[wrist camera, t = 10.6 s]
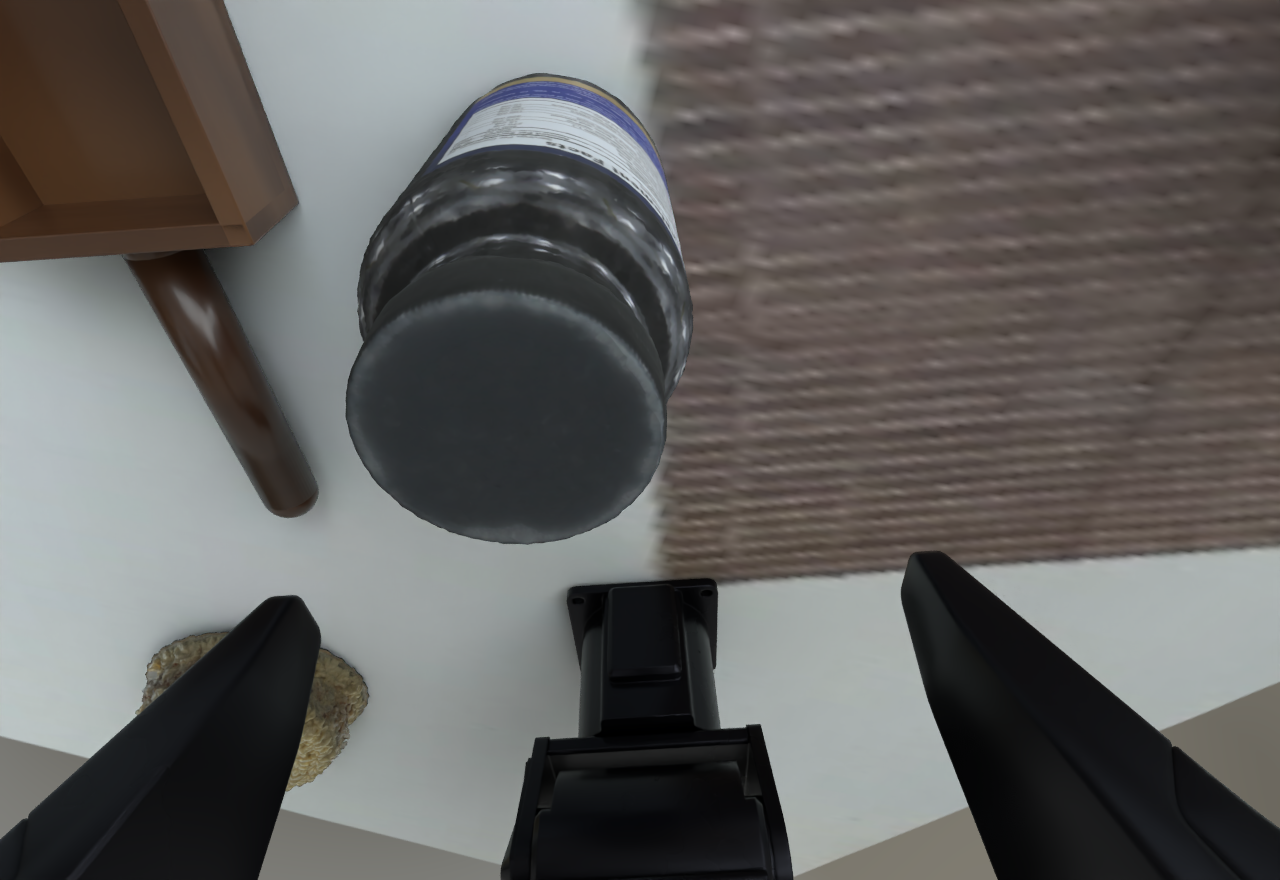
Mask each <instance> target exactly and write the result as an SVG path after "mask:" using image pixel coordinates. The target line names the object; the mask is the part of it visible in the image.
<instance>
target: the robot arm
mask: <svg viewBox="0 0 1280 880" xmlns="http://www.w3.org/2000/svg"><path fill="white" fill-rule="evenodd" d="M901 601H902V606H903V609H904V613H905V617H906V621H907V624H908V628H909V632H910V636H911V639H912V643H913V647H914V651H915V654H916V658H917V662H918V666H919V669H920V673H921V677H922V681H923V684H924V688H925V691H926V695H927V698H928V702H929V704H930V707H931V710H932V713H933V716H934V718H935V721H936V723H937V726H938V728H939V731H940V734H941V736H942V739H943V741H944V744H945V746H946V749H947V751H948V754H949V757H950V759H951V762H952V764H953V767H954V769H955V772H956V774H957V777H958V780H959V782H960V785H961V787H962V790H963V792H964V795H965V797H966V800H967V803H968V805H969V808H970V810H971V813H972V815H973V818H974V820H975V823H976V825H977V828H978V831H979V833H980V835H981V838H982V841H983V843H984V846H985V849H986V851H987V854H988V856H989V859H990V861H991V864H992V866H993V869H994V872H995V874H996V877H997V879H998V880H1280V828H1279V827H1277V826H1276V825H1274V824H1273V823H1272V822H1271V821H1269V820H1268V819H1267V818H1265V817H1264V816H1263V815H1261V814H1260V813H1259V812H1257V811H1256V810H1255V809H1253V808H1252V807H1251V806H1250V805H1248V804H1247V803H1246V802H1245V801H1243V800H1242V799H1241V798H1240V797H1238V796H1237V795H1236V794H1235V793H1233V792H1232V791H1231V790H1230V789H1229V788H1227V787H1226V786H1225V785H1224V784H1222V783H1221V782H1219V781H1218V780H1217V779H1216V778H1214V777H1213V776H1212V775H1211V774H1210V773H1209V772H1207V771H1206V770H1205V769H1204V768H1203V767H1201V766H1200V765H1199V764H1198V763H1197V762H1195V761H1194V760H1193V759H1192V758H1190V757H1189V756H1188V755H1187V754H1186V753H1184V752H1183V751H1182V750H1181V749H1179V748H1178V747H1176V746H1174V747H1172V744H1171V742H1170V740H1169V739H1167V738H1166V737H1164V735H1163V734H1161V733H1160V732H1159V731H1158V730H1157V729H1155V728H1154V727H1153V726H1152V725H1151V724H1149V723H1148V722H1147V721H1146V720H1145V719H1143V718H1142V717H1141V716H1140V715H1138V714H1137V713H1136V712H1135V711H1134V710H1132V709H1131V708H1130V707H1129V706H1128V705H1126V704H1125V703H1124V702H1123V701H1122V700H1120V699H1119V698H1118V697H1117V696H1116V695H1114V694H1113V693H1112V692H1111V691H1110V690H1108V689H1107V688H1106V687H1105V686H1104V685H1102V684H1101V683H1100V682H1099V681H1098V680H1096V679H1095V678H1094V677H1093V676H1092V675H1090V674H1089V673H1088V672H1087V671H1086V670H1084V669H1083V668H1082V667H1081V666H1080V665H1078V664H1077V663H1076V662H1075V661H1074V660H1072V659H1071V658H1070V657H1069V656H1068V655H1066V654H1065V653H1064V652H1063V651H1062V650H1060V649H1059V648H1058V647H1057V646H1056V645H1054V644H1053V643H1052V642H1051V641H1050V640H1048V639H1047V638H1046V637H1045V636H1044V635H1042V634H1041V633H1040V632H1039V631H1038V630H1036V629H1035V628H1034V627H1033V626H1032V625H1030V624H1029V623H1028V622H1027V621H1026V620H1024V619H1023V618H1022V617H1021V616H1020V615H1018V614H1017V613H1016V612H1015V611H1014V610H1012V609H1011V608H1010V607H1009V606H1008V605H1006V604H1005V603H1004V602H1003V601H1002V600H1000V599H999V598H998V597H997V596H996V595H994V594H993V593H992V592H991V591H990V590H988V589H987V588H986V587H985V586H983V585H982V584H981V583H980V582H979V581H977V580H976V579H975V578H974V577H973V576H971V575H970V574H969V573H968V572H967V571H965V570H964V569H963V568H962V567H961V566H959V565H958V564H957V563H956V562H955V561H953V560H952V559H951V558H950V557H949V556H947V555H946V554H945V553H943V552H941V551H923V552H915V553H913V554H912V555H911V556H910V558H909V560H908V564H907V568H906V572H905V575H904V579H903V583H902V587H901ZM567 605H568V610H569V615H570V620H571V625H572V630H573V635H574V640H575V645H576V650H577V655H578V660H579V665H580V670H581V687H580V709H579V732H578V738H563V739H550V737H538V738H535V742H534V747H533V753H532V758H528V761H527V762H526V766H525V776H524V782H523V787H522V792H521V797H520V802H519V807H518V813H517V818H516V823H515V826H514V829H513V832H512V835H511V838H510V841H509V844H508V847H507V850H506V853H505V856H504V859H503V862H502V866H501V880H793V871H792V863H791V856H790V849H789V843H788V837H787V832H786V827H785V822H784V818H783V813H782V809H781V805H780V801H779V797H778V793H777V789H776V785H775V781H774V777H773V773H772V769H771V765H770V761H769V757H768V753H767V749H766V745H765V740H764V736H763V732H762V728H761V725H760V724H753V725H746V727H745V728H728V729H721V727H720V720H719V712H718V704H717V696H716V689H715V681H714V673H713V670H714V669H715V667H716V649H717V608H718V590H717V584H716V582H715V581H714V580H712V579H689V580H672V581H656V582H639V583H623V584H606V585H590V586H576V587H572V588H570V589H569V590H568V593H567ZM320 644H321V633H320V629H319V626H318V625H317V623H316V621H315V620H314V618H313V616H312V615H311V613H310V611H309V610H308V608H307V606H306V605H305V603H304V601H303V600H302V599H301V598H300V597H298V596H297V595H287V596H274V597H270V598H268V599H266V600H265V601H264V602H262V603H261V604H260V605H259V606H258V607H257V608H256V609H255V610H253V611H252V612H251V613H250V614H249V615H248V616H247V617H246V618H245V619H244V620H242V621H241V622H240V623H239V624H238V625H237V626H236V627H235V628H234V629H232V630H231V631H230V632H229V633H228V634H227V635H226V636H225V637H224V638H223V639H221V640H220V641H219V642H218V643H217V644H216V645H215V646H214V647H213V648H211V649H210V650H209V651H208V652H207V653H206V654H205V655H204V656H203V657H202V658H200V659H199V660H198V661H197V662H196V663H195V664H194V665H193V666H192V667H190V668H189V669H188V670H187V671H186V672H185V673H184V674H183V675H182V676H181V677H179V678H178V679H177V680H176V681H175V682H174V683H173V684H172V685H171V686H169V687H168V688H167V689H166V690H165V691H164V692H163V693H162V694H161V695H160V696H158V697H157V698H156V699H155V700H154V701H153V702H152V703H151V704H150V705H148V706H147V707H146V708H145V709H144V710H143V711H142V712H141V713H140V714H139V715H137V716H136V717H135V718H134V719H133V720H132V721H131V722H130V723H129V724H127V725H126V726H125V727H124V728H123V729H122V730H121V731H120V732H119V733H118V734H116V735H115V736H114V737H113V738H112V739H111V740H110V741H109V742H108V743H106V744H105V745H104V746H103V747H102V748H101V749H100V750H99V751H98V752H97V753H95V754H94V755H93V756H92V757H91V758H90V759H89V760H88V761H87V762H86V763H84V764H83V765H82V766H81V767H80V768H79V769H78V770H77V771H76V772H75V773H73V774H72V775H71V776H70V777H69V778H68V779H67V780H66V781H64V782H63V783H62V784H61V785H60V786H59V787H58V788H57V789H56V790H55V791H54V792H52V793H51V794H50V795H49V796H48V797H47V798H46V799H45V800H44V801H42V802H41V803H40V805H38V806H37V807H36V808H35V809H34V810H32V811H31V812H30V814H29V816H28V818H26V819H23V820H21V821H20V822H19V823H18V824H17V825H16V826H15V827H13V828H12V829H11V830H10V831H9V832H8V833H7V834H6V835H5V836H3V837H2V838H1V839H0V880H258V877H259V873H260V870H261V867H262V864H263V861H264V857H265V854H266V851H267V848H268V845H269V841H270V838H271V835H272V832H273V829H274V826H275V822H276V819H277V816H278V813H279V810H280V807H281V804H282V800H283V797H284V794H285V791H286V788H287V784H288V781H289V778H290V775H291V772H292V769H293V765H294V762H295V759H296V756H297V752H298V749H299V745H300V742H301V737H302V733H303V729H304V724H305V719H306V714H307V709H308V704H309V699H310V694H311V689H312V684H313V679H314V674H315V669H316V664H317V659H318V655H319V650H320Z"/></svg>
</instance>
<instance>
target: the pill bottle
mask: <svg viewBox="0 0 1280 880" xmlns="http://www.w3.org/2000/svg"><path fill="white" fill-rule="evenodd" d="M357 297H358V310H357V312H358V316H359V327H360V333H361V336H362V338H363V341H364V343H363V345H362V347H361V349H360V351H359V353H358V356H357V358H356V360H355V362H354V364H353V366H352V369H351V372H350V375H349V378H348V384H347V391H346V420H347V424H348V428H349V433H350V437H351V439H352V441H353V444H354V447H355V449H356V452H357V453H358V455H359V457H360V459H361V461H362V463H363V464H364V466H365V467H366V469H367V470H368V471H369V473H370V474H371V476H372V478H373V479H374V480H375V481H376V483H377V484H378V485H379V486H380V487H381V488H382V489H383V490H385V491H386V492H387V493H388V494H390V495H391V496H392V497H393V498H394V499H395V500H396V501H397V502H398V503H399V504H400V505H401V506H402V507H404V508H405V509H407V510H409V511H411V512H413V513H414V514H415V515H416V516H417V517H419V518H421V519H423V520H426V521H428V522H430V523H431V524H434V525H436V526H437V527H439V528H444V529H446V530H447V531H449V532H452V533H456V534H458V535H462V536H466V537H470V538H473V539H480V540H484V541H490V542H499V543H502V544H527V545H528V544H532V543H545V542H551V541H558V540H563V539H567V538H570V537H573V536H575V535H577V534H581V533H584V532H587V531H590V530H592V529H593V528H596V527H598V526H600V525H602V524H604V523H607V522H608V521H610V520H611V519H613V518H615V517H616V516H618V515H619V514H620V513H621V512H622V510H624V509H625V508H627V507H628V506H629V505H631V504H632V503H633V502H634V501H635V499H636V498H637V497H638V496H639V495H640V494H641V493H642V492H643V490H644V489H645V487H646V486H647V485H648V484H649V482H650V481H651V479H652V476H653V474H654V472H655V471H656V469H657V467H658V465H659V462H660V457H661V454H662V452H663V448H664V445H665V441H666V429H667V410H666V404H667V401H668V399H669V398H670V397H671V395H672V393H673V391H674V390H675V387H676V386H677V384H678V382H679V379H680V377H681V376H682V374H683V371H684V370H685V365H686V361H687V360H686V359H687V357H688V354H689V349H690V343H691V337H692V332H693V315H692V310H693V304H692V301H691V296H690V291H689V285H688V281H687V277H686V272H685V267H684V263H683V259H682V253H681V247H680V243H679V239H678V235H677V229H676V224H675V220H674V215H673V211H672V206H671V201H670V197H669V192H668V188H667V182H666V177H665V173H664V170H663V166H662V162H661V159H660V157H659V154H658V151H657V149H656V146H655V144H654V142H653V140H652V139H651V137H650V135H649V134H648V132H647V131H646V129H645V128H644V126H643V125H642V124H641V122H640V121H639V119H638V118H637V117H636V116H635V115H634V114H633V113H632V111H631V110H630V109H629V108H628V107H627V106H626V105H625V104H624V103H623V102H622V101H621V100H620V99H618V98H617V97H615V96H613V95H611V94H610V93H608V92H607V91H605V90H603V89H602V88H600V87H598V86H596V85H594V84H592V83H590V82H588V81H584V80H581V79H576V78H571V77H566V76H560V75H552V74H547V73H536V74H530V75H527V76H524V77H520V78H516V79H513V80H510V81H508V82H505V83H502V84H500V85H498V86H496V87H495V88H494V89H493V90H491V91H490V92H489V93H487V94H486V95H484V96H482V97H480V98H478V99H477V100H476V101H474V102H473V103H472V104H471V105H470V106H469V107H468V108H467V109H466V110H465V111H464V113H463V114H462V115H461V116H460V118H459V119H458V120H457V121H456V122H455V123H454V125H453V126H452V128H451V129H450V131H449V132H448V134H447V135H446V136H445V137H444V138H443V140H442V141H441V143H440V144H439V145H438V147H437V148H436V149H435V150H434V151H433V153H432V154H431V155H430V157H429V158H428V160H427V161H426V162H425V163H424V165H423V166H422V168H421V169H420V171H419V172H418V173H417V174H416V175H415V177H414V178H413V180H412V181H411V183H410V184H409V185H408V187H407V188H406V190H405V191H404V192H403V193H402V194H401V195H400V196H399V198H398V200H397V201H396V202H395V204H394V205H393V206H392V207H391V209H390V210H389V211H388V212H387V213H386V215H385V216H384V217H383V218H382V220H381V222H380V224H379V225H378V226H377V228H376V230H375V232H374V234H373V235H372V236H371V238H370V242H369V245H368V246H367V249H366V252H365V253H364V259H363V262H362V264H361V269H360V278H359V282H358V288H357Z"/></svg>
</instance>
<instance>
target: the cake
mask: <svg viewBox="0 0 1280 880" xmlns="http://www.w3.org/2000/svg"><path fill="white" fill-rule="evenodd" d="M228 633H229V632H221V633H217V632H215V633H205V634H202V635H201V636H200V635H198V636H195V635H191V636H188V637H187V638H184V639H182V640H180V639H179V640H175V641H174V642H173V643H171V645H167V646H165V647H163V648H161V650H160V651H159V653H156V654H154V656H153V658H152V661H151V663H148V665H147V672H146V674H145V675H146V678H147V680H148V681H147V685H146V687H145V688H144V689H143V691H142V692H143V693H144V694H143V698H142V702H143V705H142V706H141V707H140V709H139V710H137V711H136V712H135V714H137V715H139V714H140V713H141V712H142V711H143V710H144V709H145V708H146V707H147V706H148V705H150V704H151V703H152V702H153V701H154V700H155V699H156V698H157V697H158V696H160V695H161V694H162V693H163V692H164V691H165V690H166V689H167V688H168V687H169V686H171V685H172V684H173V683H174V682H175V681H176V680H177V679H178V678H179V677H181V676H182V675H183V674H184V673H185V672H186V671H187V670H188V669H189V668H190V667H192V666H193V665H194V664H195V663H196V662H197V661H198V660H199V659H200V658H202V657H203V656H204V655H205V654H206V653H207V652H208V651H209V650H210V649H211V648H213V647H214V646H215V645H216V644H217V643H218V642H219V641H220V640H221V639H223V638H224V637H225V636H226V635H227V634H228ZM364 684H365V683H364V682H363V678H362V676H361V675H359V674H358V673H356V670H355V669H354V668H353V667H352V668H350V667H349V665H347V664H345V661H344V660H343V659H342V658H338V657H337V656H334V655H333V654H331V653H330V652H329V651H328V650H327V651H326V650H324V649H321V648H320V650H319V655H318V659H317V664H316V669H315V674H314V679H313V684H312V689H311V694H310V699H309V704H308V709H307V714H306V719H305V724H304V729H303V733H302V737H301V742H300V745H299V749H298V752H297V756H296V759H295V762H294V765H293V769H292V772H291V775H290V778H289V781H288V784H287V788H286V791H289V790H291V789H292V788H293V787H294V786H296V785H297V786H299V787H300V786H302V785H303V784H305V783H307V782H309V783H310V782H313V781H314V779H315V777H316V776H317V775H318V774H322V773H323V770H324V769H327V767H328V766H329V765H330V764H331V763H332V762H333V760H334V759H335V758H336V757H339V756H338V755H339V754H340V753H341V749H344V747H345V746H346V745H347V741H346V742H343V741H344V740H345V739H349V738H350V734H349V729H348V728H347V727H348V726H349V725H351V724H352V723H353V722H354V721H355V720H356V718H357V717H358V716H359V715H361V714H362V712H363V710H364V708H365V707H366V706H367V698H368V697H369V695H368V693H366V692H367V687H366V685H364Z"/></svg>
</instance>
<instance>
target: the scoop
mask: <svg viewBox="0 0 1280 880" xmlns="http://www.w3.org/2000/svg"><path fill="white" fill-rule="evenodd" d="M298 204H299V202H298V199H297V196H296V194H295V191H294V188H293V186H292V183H291V180H290V178H289V175H288V172H287V170H286V167H285V164H284V162H283V159H282V156H281V154H280V151H279V148H278V146H277V143H276V140H275V138H274V135H273V132H272V130H271V127H270V124H269V122H268V119H267V116H266V114H265V111H264V108H263V106H262V103H261V100H260V98H259V95H258V92H257V90H256V87H255V85H254V82H253V79H252V77H251V74H250V71H249V69H248V66H247V63H246V61H245V58H244V55H243V53H242V50H241V47H240V45H239V42H238V39H237V37H236V34H235V31H234V29H233V26H232V23H231V21H230V18H229V15H228V13H227V10H226V7H225V5H224V2H223V0H0V263H2V262H17V261H32V260H46V259H61V258H76V257H91V256H106V255H120V254H122V256H123V258H124V260H125V262H126V263H127V265H128V267H129V269H130V270H131V272H132V274H133V276H134V277H135V279H136V281H137V283H138V284H139V286H140V288H141V290H142V291H143V293H144V295H145V297H146V298H147V300H148V302H149V304H150V306H151V307H152V309H153V311H154V313H155V314H156V316H157V318H158V320H159V321H160V323H161V325H162V327H163V328H164V330H165V332H166V334H167V335H168V337H169V339H170V341H171V342H172V344H173V346H174V348H175V349H176V351H177V353H178V355H179V356H180V358H181V360H182V362H183V363H184V365H185V367H186V369H187V370H188V372H189V374H190V376H191V377H192V379H193V381H194V383H195V385H196V386H197V388H198V390H199V392H200V393H201V395H202V397H203V399H204V400H205V402H206V404H207V406H208V407H209V409H210V411H211V413H212V414H213V416H214V418H215V420H216V421H217V423H218V425H219V427H220V428H221V430H222V432H223V434H224V435H225V437H226V439H227V441H228V442H229V444H230V446H231V448H232V449H233V451H234V453H235V455H236V457H237V458H238V460H239V462H240V464H241V465H242V467H243V469H244V471H245V472H246V474H247V476H248V478H249V479H250V481H251V483H252V485H253V486H254V488H255V490H256V492H257V493H258V495H259V497H260V499H261V500H262V502H263V504H264V505H265V507H266V508H267V509H268V510H269V511H270V512H271V513H273V514H274V515H277V516H279V517H284V518H294V517H298V516H301V515H303V514H305V513H307V512H308V511H309V510H311V509H312V507H313V506H314V505H315V503H316V501H317V499H318V494H319V489H318V485H317V482H316V480H315V478H314V476H313V474H312V472H311V469H310V467H309V465H308V463H307V461H306V459H305V457H304V455H303V453H302V451H301V449H300V447H299V445H298V443H297V441H296V439H295V437H294V435H293V432H292V430H291V428H290V426H289V424H288V422H287V420H286V418H285V416H284V414H283V412H282V410H281V408H280V406H279V404H278V402H277V400H276V398H275V395H274V393H273V391H272V389H271V387H270V385H269V383H268V381H267V379H266V377H265V375H264V373H263V371H262V369H261V367H260V365H259V363H258V361H257V358H256V356H255V354H254V352H253V350H252V348H251V346H250V344H249V342H248V340H247V338H246V336H245V334H244V332H243V330H242V328H241V326H240V324H239V321H238V319H237V317H236V315H235V313H234V311H233V309H232V307H231V305H230V303H229V301H228V299H227V297H226V295H225V293H224V291H223V289H222V287H221V284H220V282H219V280H218V278H217V276H216V274H215V272H214V270H213V268H212V266H211V264H210V262H209V260H208V258H207V256H206V254H205V252H204V250H203V249H209V248H224V247H239V246H253V245H254V244H256V243H257V242H258V241H259V240H260V239H261V238H262V237H263V236H264V235H265V234H266V233H267V232H268V231H270V230H271V229H272V228H273V227H274V226H275V225H276V224H277V223H278V222H279V221H280V220H281V219H283V218H284V217H285V216H286V215H287V214H288V213H289V212H290V211H291V210H292V209H293V208H294V207H295V206H297V205H298Z"/></svg>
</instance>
